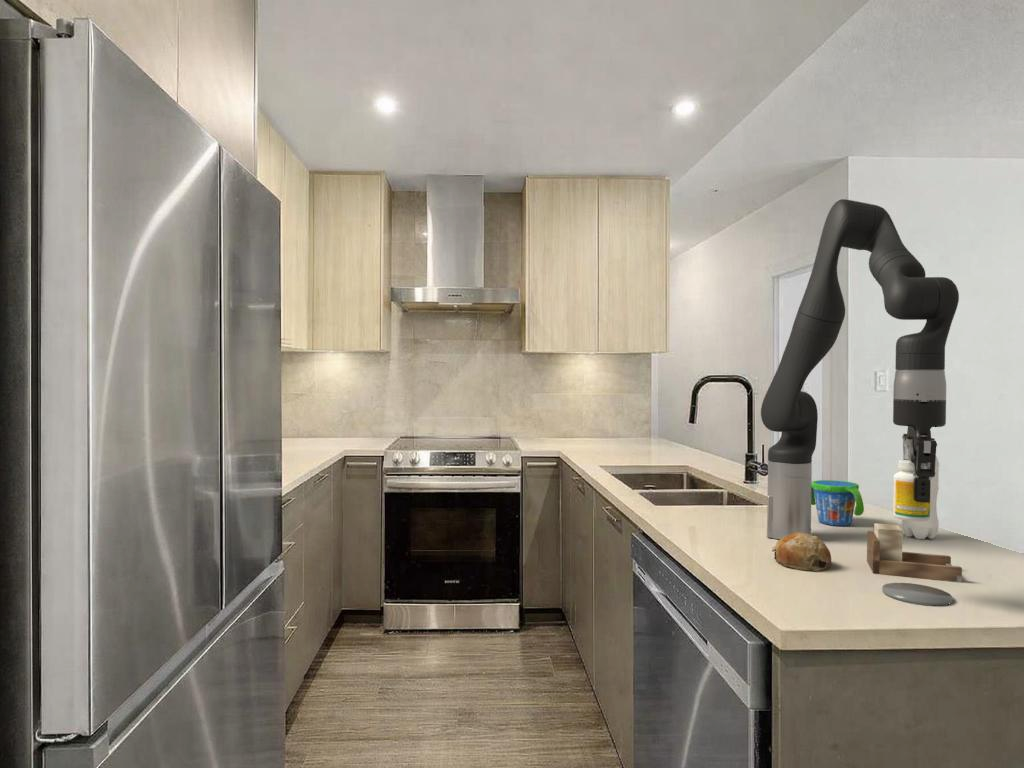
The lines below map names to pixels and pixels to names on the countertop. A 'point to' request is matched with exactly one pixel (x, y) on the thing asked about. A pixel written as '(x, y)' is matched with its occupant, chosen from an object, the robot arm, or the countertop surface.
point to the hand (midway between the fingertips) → (917, 498)
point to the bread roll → (802, 552)
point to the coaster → (916, 594)
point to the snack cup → (836, 501)
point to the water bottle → (931, 526)
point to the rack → (905, 557)
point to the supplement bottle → (908, 495)
